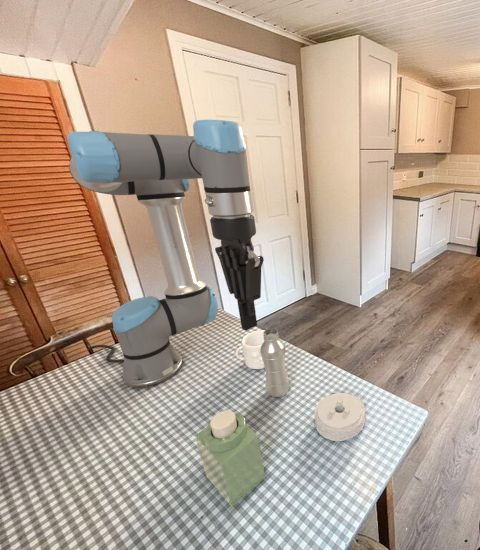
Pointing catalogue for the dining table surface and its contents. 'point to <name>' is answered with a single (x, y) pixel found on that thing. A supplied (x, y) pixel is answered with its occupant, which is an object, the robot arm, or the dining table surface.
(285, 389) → the plastic bottle
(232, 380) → the dining table surface
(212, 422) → the beige short cylinder
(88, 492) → the dining table surface
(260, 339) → the mug
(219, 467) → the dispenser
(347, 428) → the lid
